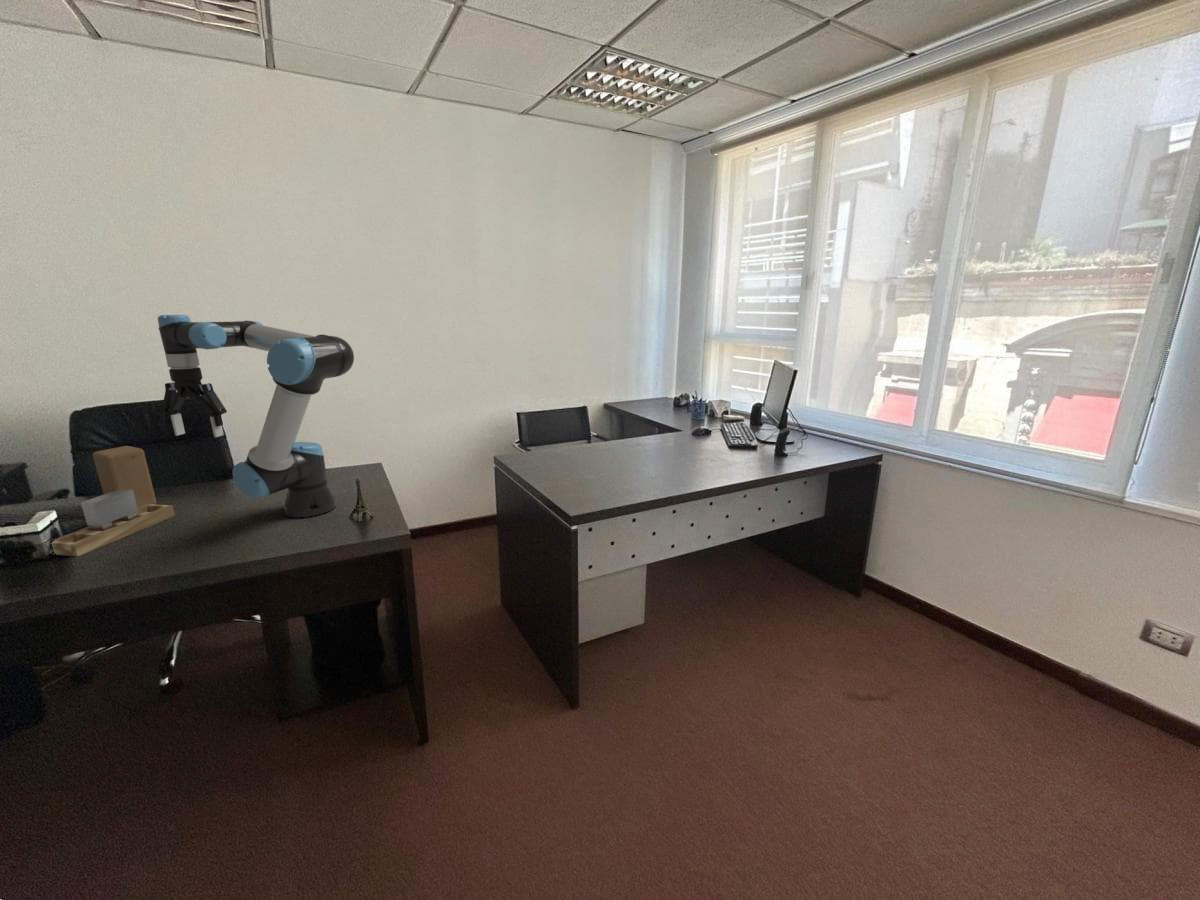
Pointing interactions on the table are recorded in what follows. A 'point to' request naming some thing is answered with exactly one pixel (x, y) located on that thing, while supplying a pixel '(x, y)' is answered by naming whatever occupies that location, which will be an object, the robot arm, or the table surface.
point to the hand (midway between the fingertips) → (199, 435)
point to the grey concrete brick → (110, 509)
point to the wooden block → (125, 472)
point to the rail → (110, 531)
